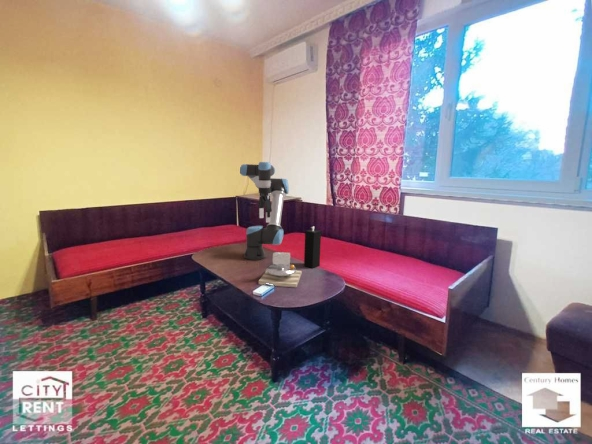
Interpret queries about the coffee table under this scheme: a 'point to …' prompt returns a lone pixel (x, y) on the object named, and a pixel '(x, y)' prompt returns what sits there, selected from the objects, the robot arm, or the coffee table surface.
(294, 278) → the base plate
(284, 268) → the handwheel
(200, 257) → the coffee table surface
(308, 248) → the black pillar candle
